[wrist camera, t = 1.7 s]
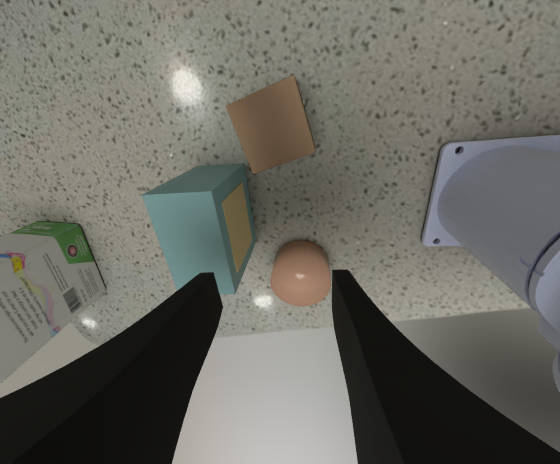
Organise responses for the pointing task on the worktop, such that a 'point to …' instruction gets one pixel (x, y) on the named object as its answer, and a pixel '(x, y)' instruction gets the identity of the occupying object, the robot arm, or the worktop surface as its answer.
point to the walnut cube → (272, 125)
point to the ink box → (42, 287)
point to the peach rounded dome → (301, 273)
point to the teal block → (204, 224)
